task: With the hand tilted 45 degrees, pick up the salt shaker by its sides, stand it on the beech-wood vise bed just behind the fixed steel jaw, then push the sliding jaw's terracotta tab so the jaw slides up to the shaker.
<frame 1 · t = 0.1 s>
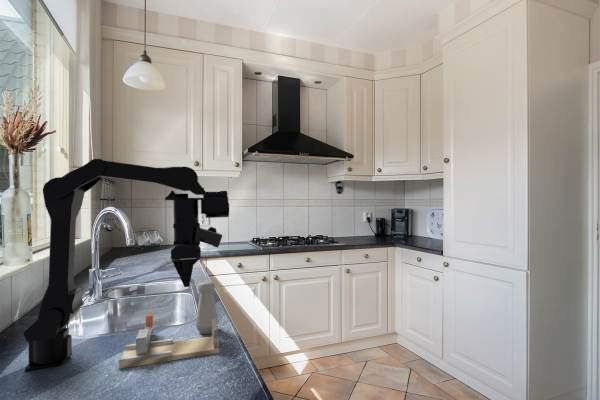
hand: (187, 282, 78), 15 cm above the worktop, tool pointing down, fingers open, 9 cm apart
salt shaker: (206, 331, 84), on the worktop
vise: (172, 352, 72), on the worktop
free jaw: (146, 333, 75), point 3 cm above the worktop, slide at 0.0 cm
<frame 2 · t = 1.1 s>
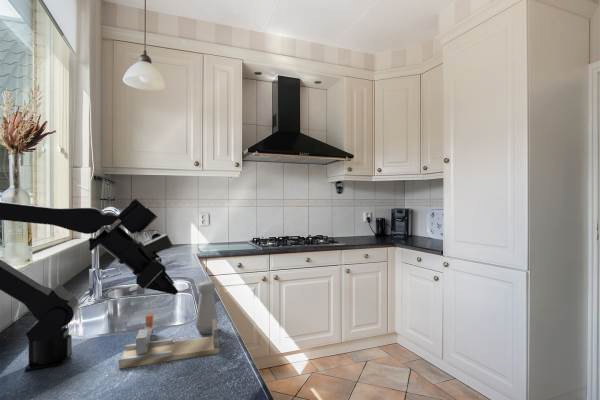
hand: (174, 288, 80), 12 cm above the worktop, tool tilted 45°, fingers open, 9 cm apart
nothing on the worktop moved.
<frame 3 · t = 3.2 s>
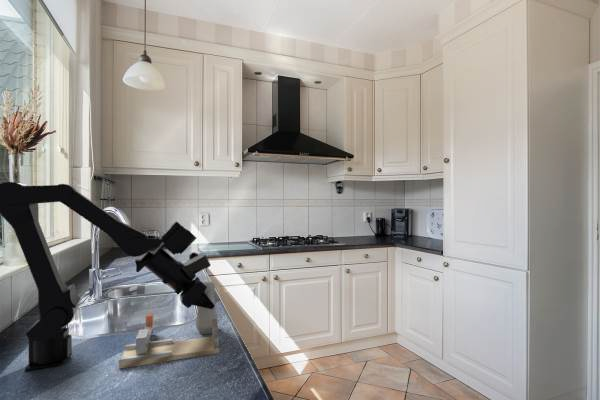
hand: (211, 305, 85), 7 cm above the worktop, tool tilted 45°, fingers closed on salt shaker, 3 cm apart
salt shaker: (206, 331, 84), on the worktop, touching gripper
everything else where it was.
when the fingers open (9 cm above the worktop, at t = 6.3 s): salt shaker drops 1 cm, resting on vise.
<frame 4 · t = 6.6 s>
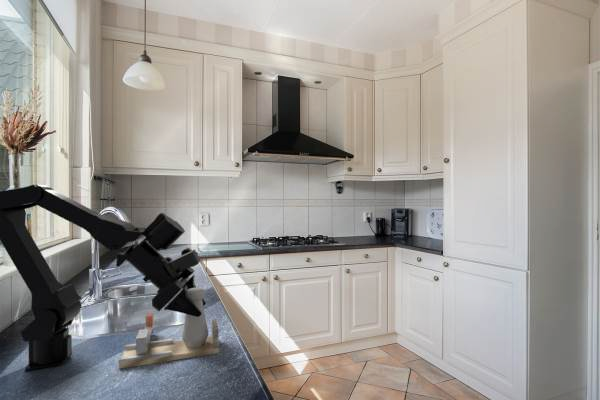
hand: (202, 309, 74), 9 cm above the worktop, tool tilted 45°, fingers open, 7 cm apart
salt shaker: (195, 345, 74), point 1 cm above the worktop, touching vise
everything else where it was.
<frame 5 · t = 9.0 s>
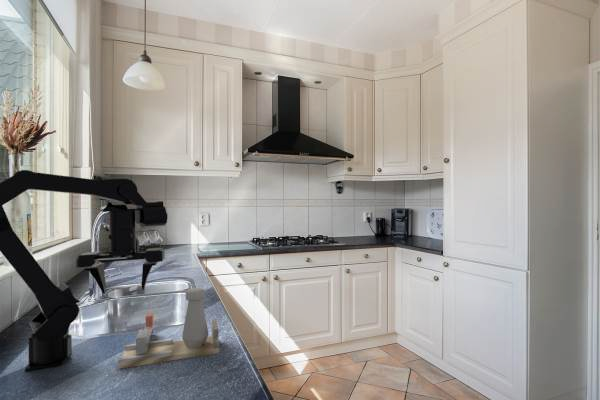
hand: (124, 291, 80), 12 cm above the worktop, tool pointing down, fingers open, 8 cm apart
nothing on the worktop moved.
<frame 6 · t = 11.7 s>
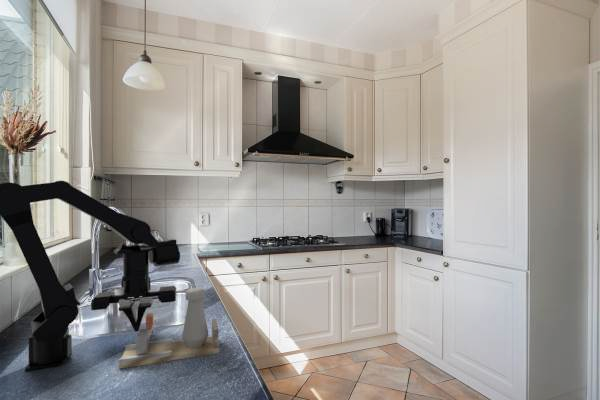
hand: (137, 331, 81), 2 cm above the worktop, tool pointing down, fingers closed
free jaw: (146, 333, 75), point 3 cm above the worktop, slide at 0.0 cm, touching gripper
everything else where it was.
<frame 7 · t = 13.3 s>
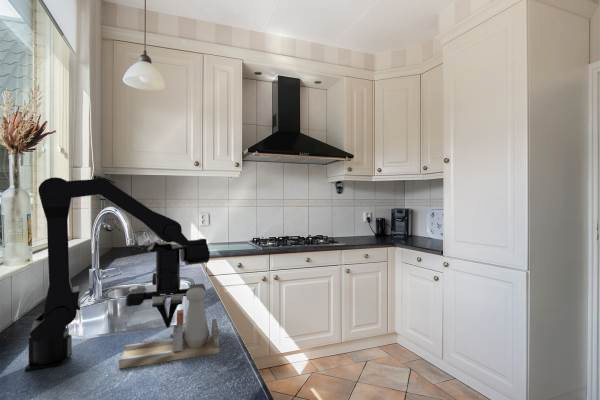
hand: (168, 327, 83), 2 cm above the worktop, tool pointing down, fingers closed
salt shaker: (196, 345, 74), point 1 cm above the worktop, touching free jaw
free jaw: (179, 329, 78), point 3 cm above the worktop, slide at 7.3 cm, touching gripper, salt shaker
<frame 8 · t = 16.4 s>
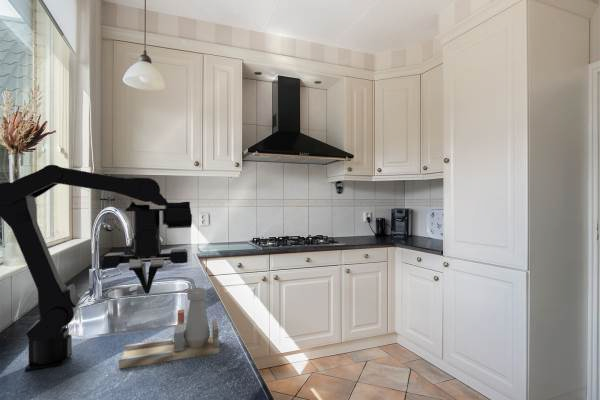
hand: (147, 293, 78), 12 cm above the worktop, tool pointing down, fingers closed
salt shaker: (197, 345, 74), point 1 cm above the worktop, touching vise
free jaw: (180, 329, 78), point 3 cm above the worktop, slide at 7.5 cm
at the end: salt shaker inside the target area on the vise (0.2 cm from its centre), point 0.8 cm above the vise's base; salt shaker tilted 0°; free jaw slide at 7.5 cm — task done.
